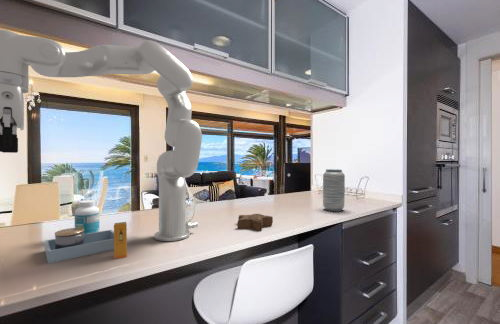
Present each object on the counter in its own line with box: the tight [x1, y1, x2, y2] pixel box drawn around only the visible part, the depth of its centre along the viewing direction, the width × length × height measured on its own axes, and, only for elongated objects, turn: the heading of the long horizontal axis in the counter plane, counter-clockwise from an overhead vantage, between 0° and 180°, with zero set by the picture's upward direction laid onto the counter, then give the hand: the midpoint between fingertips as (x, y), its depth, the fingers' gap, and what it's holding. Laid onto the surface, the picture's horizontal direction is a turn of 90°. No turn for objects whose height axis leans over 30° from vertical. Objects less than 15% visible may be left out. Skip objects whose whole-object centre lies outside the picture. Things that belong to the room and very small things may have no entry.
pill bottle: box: [74, 199, 100, 234], centre depth 89 cm, size 8×7×14 cm
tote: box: [44, 229, 114, 264], centre depth 78 cm, size 18×12×4 cm, turn 132°
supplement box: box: [113, 221, 128, 260], centre depth 73 cm, size 3×3×10 cm
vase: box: [322, 168, 346, 212], centre depth 143 cm, size 12×12×23 cm
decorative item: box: [236, 213, 274, 232], centre depth 108 cm, size 16×6×15 cm
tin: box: [54, 227, 84, 249], centre depth 75 cm, size 7×7×6 cm
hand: (8, 152), depth 63 cm, fingers open, 9 cm apart
